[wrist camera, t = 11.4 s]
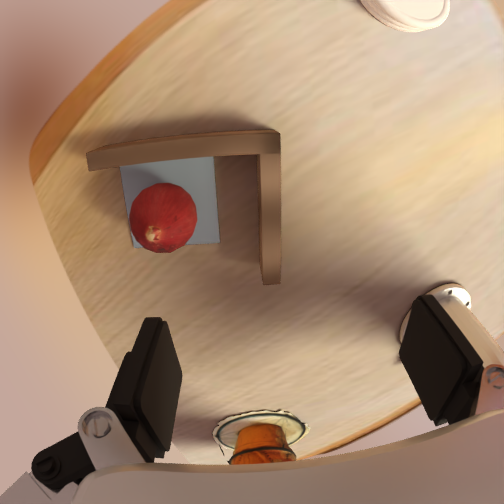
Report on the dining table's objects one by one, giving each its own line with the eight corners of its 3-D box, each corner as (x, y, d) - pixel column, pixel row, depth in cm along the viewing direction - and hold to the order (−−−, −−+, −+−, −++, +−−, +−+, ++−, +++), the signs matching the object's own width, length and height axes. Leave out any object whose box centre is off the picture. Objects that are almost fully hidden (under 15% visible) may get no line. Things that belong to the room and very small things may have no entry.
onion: (202, 230, 30) (193, 273, 23) (146, 232, 29) (122, 274, 22) (199, 172, 27) (187, 198, 20) (139, 176, 27) (108, 203, 20)
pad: (220, 241, 31) (220, 242, 30) (134, 246, 30) (134, 248, 30) (213, 151, 26) (213, 152, 26) (120, 161, 26) (119, 162, 26)
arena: (275, 262, 32) (280, 284, 29) (127, 270, 32) (116, 291, 28) (273, 129, 26) (280, 133, 22) (104, 145, 25) (86, 153, 22)
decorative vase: (280, 384, 41) (312, 570, 17) (332, 430, 52) (362, 552, 28) (171, 421, 45) (166, 571, 21) (243, 459, 56) (254, 570, 32)
